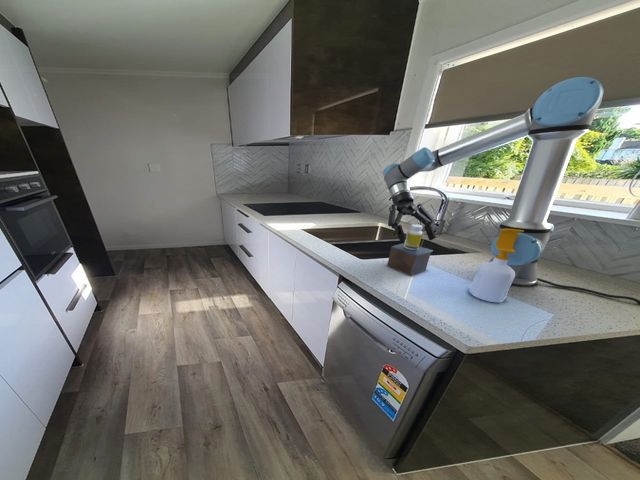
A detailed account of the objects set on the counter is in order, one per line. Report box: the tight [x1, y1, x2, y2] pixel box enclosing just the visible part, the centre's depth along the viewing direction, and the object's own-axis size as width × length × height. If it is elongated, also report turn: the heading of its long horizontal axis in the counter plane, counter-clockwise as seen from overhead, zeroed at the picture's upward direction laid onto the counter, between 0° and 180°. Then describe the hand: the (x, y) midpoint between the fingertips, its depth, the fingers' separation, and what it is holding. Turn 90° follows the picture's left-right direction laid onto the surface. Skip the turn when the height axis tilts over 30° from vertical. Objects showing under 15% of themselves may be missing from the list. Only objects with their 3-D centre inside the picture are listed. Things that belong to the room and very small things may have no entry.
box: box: [386, 247, 432, 277], centre depth 104 cm, size 11×11×9 cm
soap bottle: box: [469, 228, 524, 303], centre depth 80 cm, size 9×9×25 cm
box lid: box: [390, 242, 434, 256], centre depth 102 cm, size 11×11×1 cm
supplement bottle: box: [403, 223, 424, 250], centre depth 100 cm, size 5×5×10 cm
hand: (418, 239), depth 98 cm, fingers open, 12 cm apart
